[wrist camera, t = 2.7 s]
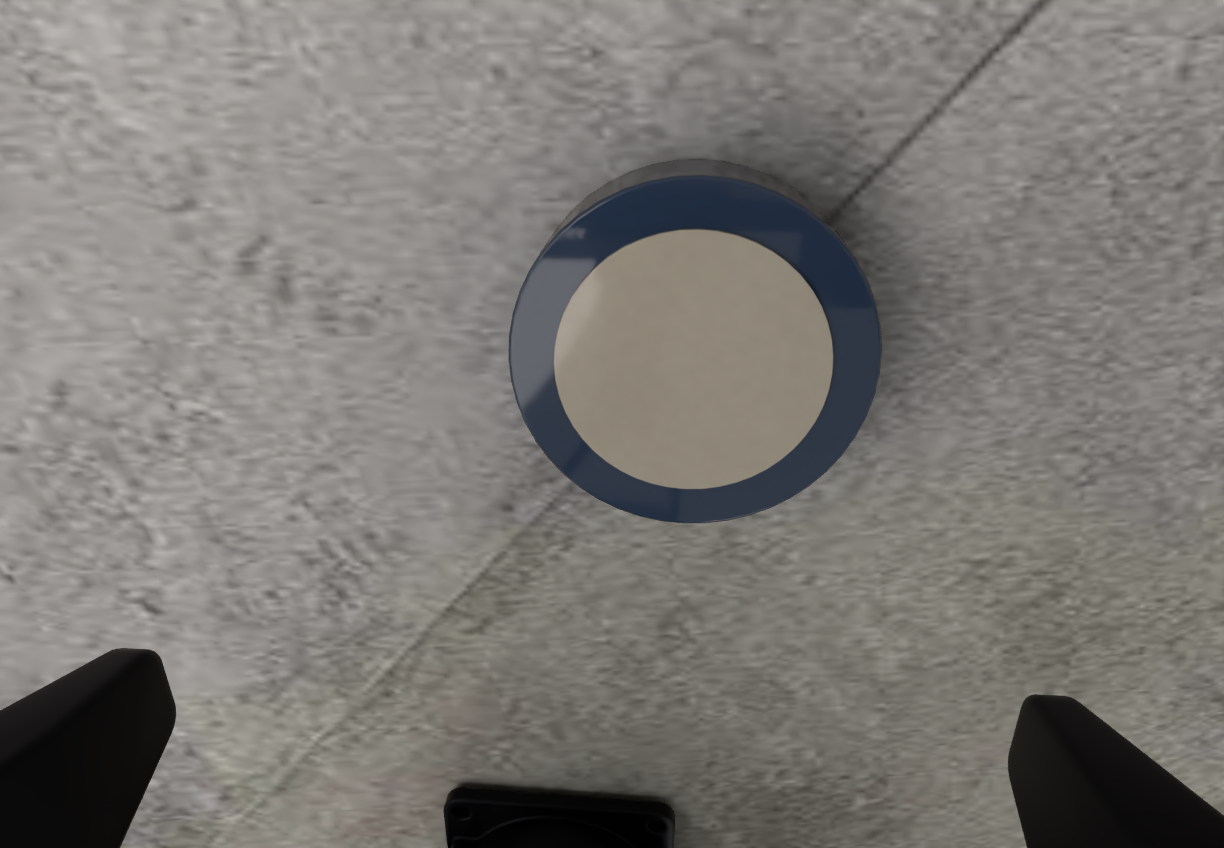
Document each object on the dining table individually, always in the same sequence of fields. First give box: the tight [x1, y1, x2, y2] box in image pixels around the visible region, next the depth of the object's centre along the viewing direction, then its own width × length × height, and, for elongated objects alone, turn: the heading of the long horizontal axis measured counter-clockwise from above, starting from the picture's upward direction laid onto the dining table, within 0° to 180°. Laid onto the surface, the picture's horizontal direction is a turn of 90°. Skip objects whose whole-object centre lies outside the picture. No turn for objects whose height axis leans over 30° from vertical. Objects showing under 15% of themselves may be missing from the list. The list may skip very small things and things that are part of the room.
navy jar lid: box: [509, 159, 882, 523], centre depth 17 cm, size 7×7×2 cm
